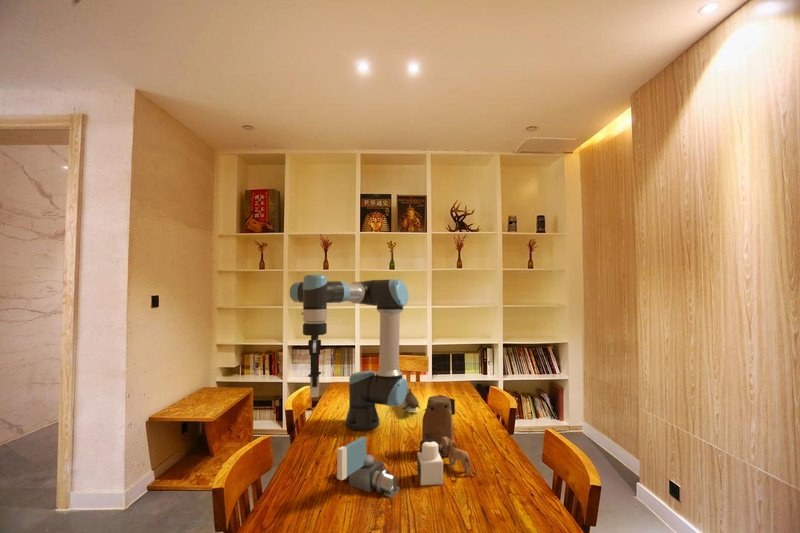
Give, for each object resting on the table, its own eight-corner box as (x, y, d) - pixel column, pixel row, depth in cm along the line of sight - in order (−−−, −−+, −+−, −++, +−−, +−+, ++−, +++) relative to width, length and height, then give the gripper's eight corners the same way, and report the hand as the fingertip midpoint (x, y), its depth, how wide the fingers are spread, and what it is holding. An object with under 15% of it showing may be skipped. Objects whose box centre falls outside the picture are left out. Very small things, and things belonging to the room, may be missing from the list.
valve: (333, 481, 117) (333, 459, 118) (347, 472, 123) (347, 451, 123) (388, 502, 105) (388, 478, 106) (401, 490, 111) (401, 468, 112)
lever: (365, 458, 118) (365, 431, 118) (376, 461, 115) (376, 434, 116) (334, 477, 106) (334, 447, 106) (345, 482, 103) (345, 451, 104)
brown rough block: (450, 448, 139) (449, 394, 140) (454, 457, 131) (453, 400, 132) (421, 449, 138) (421, 395, 139) (424, 458, 131) (423, 401, 132)
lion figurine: (436, 464, 127) (436, 437, 127) (446, 459, 130) (446, 433, 131) (472, 480, 116) (471, 450, 117) (481, 474, 120) (480, 445, 120)
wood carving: (408, 397, 205) (408, 377, 205) (425, 419, 170) (424, 394, 171) (393, 398, 203) (392, 378, 204) (406, 420, 169) (406, 395, 169)
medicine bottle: (417, 474, 120) (416, 436, 120) (438, 473, 120) (438, 435, 121) (420, 486, 113) (419, 446, 113) (443, 484, 113) (442, 444, 114)
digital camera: (457, 413, 177) (456, 399, 178) (448, 416, 174) (448, 401, 175) (442, 408, 186) (442, 394, 186) (434, 410, 183) (434, 396, 183)
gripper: (303, 320, 125) (303, 391, 123) (301, 324, 112) (301, 403, 110) (326, 320, 126) (326, 390, 125) (326, 323, 113) (326, 401, 112)
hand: (314, 396), depth 117 cm, fingers closed
